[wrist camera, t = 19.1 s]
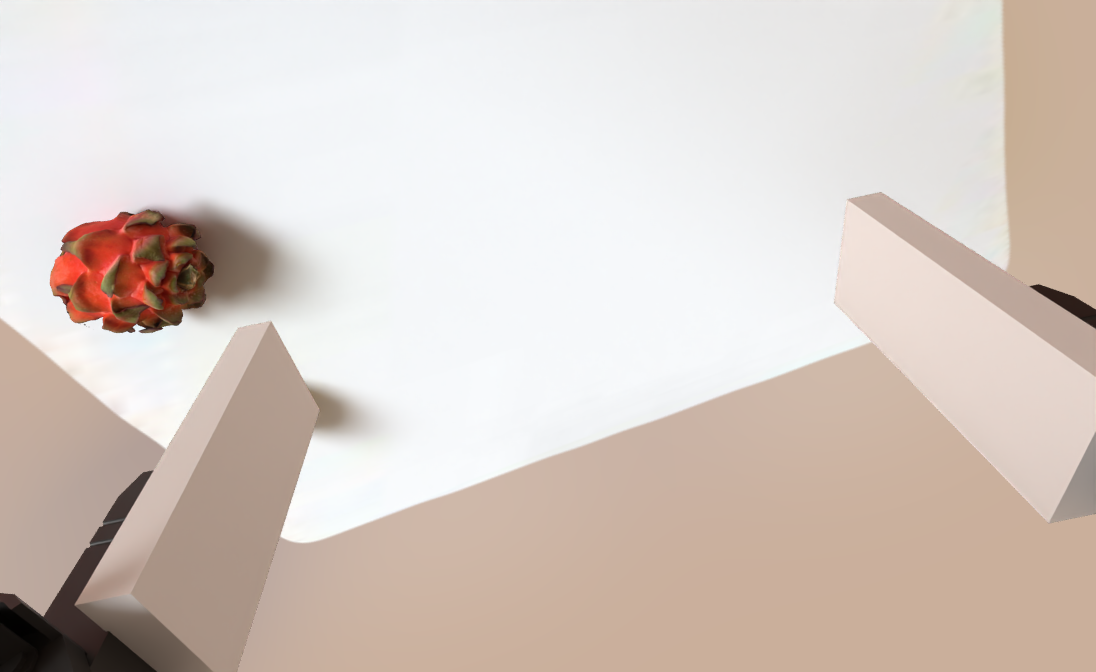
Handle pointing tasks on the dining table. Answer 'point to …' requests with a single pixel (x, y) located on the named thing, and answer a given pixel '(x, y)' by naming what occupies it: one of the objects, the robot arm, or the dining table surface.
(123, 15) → the dining table surface
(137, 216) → the dragon fruit
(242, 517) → the robot arm
